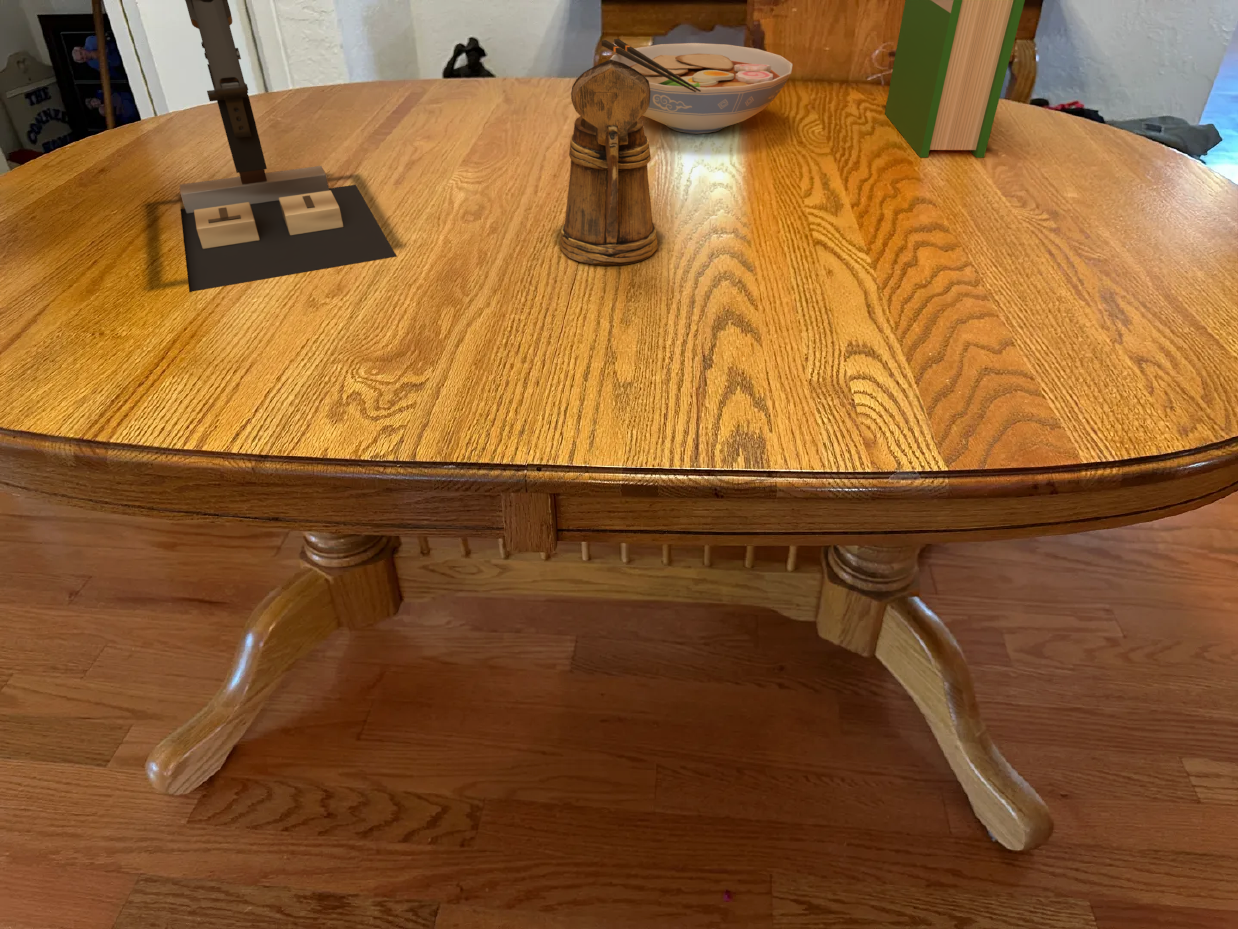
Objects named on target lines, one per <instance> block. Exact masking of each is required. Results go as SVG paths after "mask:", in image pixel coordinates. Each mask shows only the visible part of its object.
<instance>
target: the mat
mask: <svg viewBox="0 0 1238 929" xmlns="http://www.w3.org/2000/svg"><path fill="white" fill-rule="evenodd" d="M329 190H331V192H332V194H333V196H334V198H335V200H336V202H337V204H338V206H339V208H340V212H341V217H342V222H343V227H341V228H335V229H328V230H322V231H316V232H309V233H303V234H297V235H290V234H289V231H288V228H287V226H286V223H285V220H284V217H283V214H282V210H281V206H280V202H279V200H278V201H271V202H264V203H257V204H250V206H251V210H252V213H253V216H254V220H255V223H256V227H257V231H258V235H259V238H260V240H258V241H251V242H245V243H239V244H232V245H226V246H220V247H213V248H207V249H203V248H202V245H201V241H200V238H199V235H198V232H197V228H196V221H195V214H194V213H186V210H185V208H181V209H180V219H181V228H182V236H183V245H184V246H183V247H184V256H185V265H186V274H187V285H188V293H193V292H196V291H197V292H198V291H204V290H209V289H216V288H221V287H226V286H233V285H239V284H245V283H251V282H257V281H262V280H269V279H275V278H279V277H285V276H292V275H297V274H303V273H309V272H314V271H315V272H316V271H321V270H326V269H327V270H328V269H332V268H339V267H344V266H350V265H355V264H362V263H367V262H372V261H374V262H375V261H381V260H384V259H385V260H386V259H392V258H396V257H398V255H397V254H396V253H395V251H394V249H393V247H392V245H391V244H390V241H389V240H388V239H387V237H386V235H385V233H384V232H383V229H382V228H381V227H380V226H381V225H380V224H379V222H378V221H377V219H376V217H375V216H374V214H373V213H372V210H371V209H370V207H369V205H368V203H367V202H366V200H365V198H364V196H363V194H362V193H361V192H360V190H359V187H358V185H357V184H350V185H343V186H336V187H329Z"/></svg>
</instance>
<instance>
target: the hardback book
mask: <svg viewBox="0 0 1238 929" xmlns="http://www.w3.org/2000/svg"><path fill="white" fill-rule="evenodd" d="M1025 1H1026V0H904V5H903V11H902V16H901V22H900V27H899V32H898V38H897V44H896V50H895V54H894V60H893V67H892V70H891V71H892V72H891V77H890V82H889V88H888V92H887V93H888V94H887V99H886V104H885V110H884V115H885V116H886V118H887V119H888V120H889V121H890V122H891V124H892V125H893V126H894V127H895V128H896V130H897V131H898V132H899V134H900V135H901V136H902V138H904V140H905V141H906V143H907V144H908V145H909V146H910V147H911V148H912V150H913V151H914V153H915V154H916V155H917V156H918V157H919V158H929V154H930V151H969V152H970V153H971V154H972V155H973V156H974V158H976V159H979V158H981V159H982V158H983V159H984V158H985V155H986V151H987V148H988V144H989V139H990V137H991V133H992V129H993V125H994V121H995V117H996V113H997V109H998V106H999V102H1000V97H1001V94H1002V90H1003V86H1004V82H1005V78H1006V75H1007V71H1008V67H1009V63H1010V59H1011V55H1012V51H1013V47H1014V44H1015V40H1016V36H1017V32H1018V29H1019V24H1020V20H1021V18H1022V13H1023V9H1024V5H1025Z"/></svg>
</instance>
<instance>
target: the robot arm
mask: <svg viewBox="0 0 1238 929" xmlns="http://www.w3.org/2000/svg"><path fill="white" fill-rule="evenodd" d="M184 2H185V4H186V8H187V12H188V16H189V19H190V23H191V25H192V26H193V27H194V28H196V29H198V31H199V33H200V37H201V48H202V49H204V53H203V54H204V57H205V59H206V60H207V62H208V63H207V69H208V72H209V76H210V79H211V83H212V87H213V89H210V90H206V93H207V97H208V100H209V102H216V103H217V106H218V110H219V113H220V117H221V122H222V125H223V128H224V131H225V135H226V138H227V143H228V147H229V150H230V154H231V157H232V162H233V164H234V168H235V172H236V173H237V174H239V173H240V172H248V171H255V170H263V169H264V170H268V167H267V165H266V160H265V156H264V152H263V148H262V144H261V140H260V135H259V131H258V128H257V124H256V120H255V115H254V112H253V108H252V104H251V100H250V96H249V88H248V83H246V82H245V79H244V75H243V70H242V68H241V64H240V63H241V62H240V60H242V57H241V54H240V50H239V47H236V45H235V41H234V36H233V33H232V30H231V25H233V17H232V12H231V8H230V4H229V1H228V0H184ZM232 80H234V81H232ZM223 81H227V82H223Z"/></svg>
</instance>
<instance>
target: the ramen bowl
mask: <svg viewBox="0 0 1238 929" xmlns="http://www.w3.org/2000/svg"><path fill="white" fill-rule="evenodd" d="M600 44H601V45H600V46H601V47H603V48H606V49H608V50H609V51H612V52H614V53H615V54H613V55H612V56H611V57H610V58H609V59H608V60H610V59H612V60H615V61H618V62H621V63H624V64H626V65H628V66H630V67H631V68H633V69H635V70H637V71H638V72H639V73H641V74H642V75H644V77H645V78H646V79H647V80H648V81H649V86H650V103H649V107H648V109H647V110H646V112H645V113H644V114H643V115H642V116H643V117H646V118H648V119H650V120H653V121H655V122H657V123H660V124H662V125H665V126H666V127H667V128H669V129H671V130H673V131H675V132H678V133H679V132H680V133H685V134H694V135H695V134H696V135H699V134H700V135H701V134H711V133H717V132H720V131H721V130H723V129H725V128H727V127H730V126H733V125H736V124H739V123H742V122H744V121H747V120H748V119H750V118H753V117H754V116H756V115H757V114H759V113H760V112H762V111H763V110H765V109H766V108H767V107H768V106H769V105H770V104H771V103H772V102H773V101H774V100H775V99H776V98H777V96H778V95H779V93H780V92H781V91H782V89H783V88H784V86H785V85H786V84H787V81H788V80H789V78H790V76H791V74H792V70H793V64H794V63H792V62H791V61H789V60H788V59H786V58H785V57H783V56H782V55H780V54H777V53H773V52H769V51H766V50H763V49H760V48H754V47H748V46H747V47H746V46H740V45H734V44H733V45H732V44H723V43H703V42H702V43H701V42H688V43H687V42H685V43H661V44H654V45H648V46H641V47H633V46H630V45H629V44H628V43H626V42H624V41H623V40H621V39H620V38H614V39H613V43H612V42H610V41H608V40H607V39H602V40H601V41H600Z"/></svg>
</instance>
